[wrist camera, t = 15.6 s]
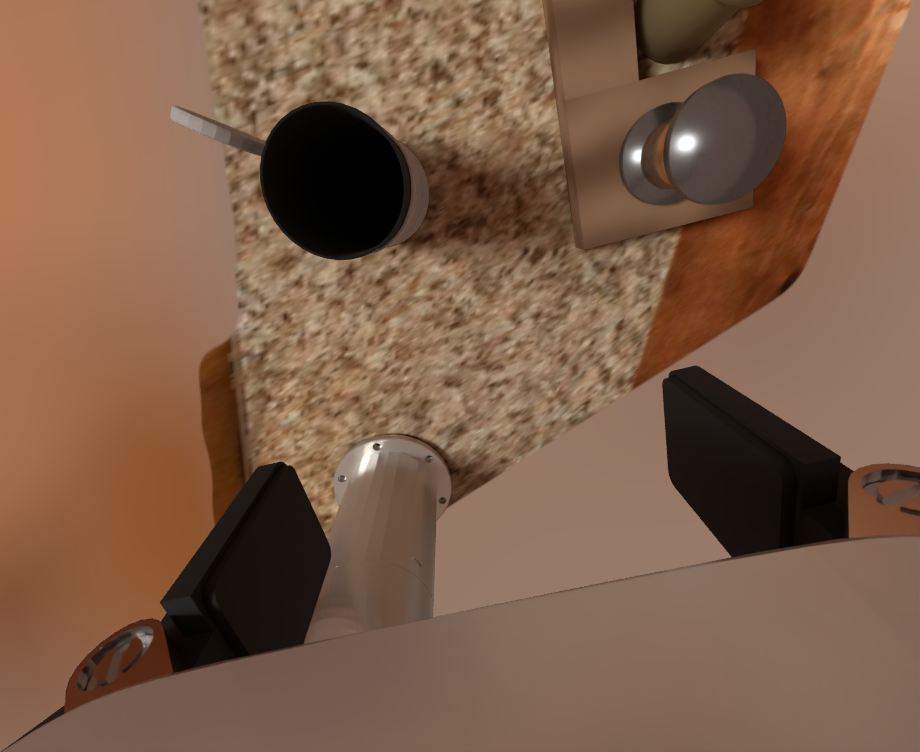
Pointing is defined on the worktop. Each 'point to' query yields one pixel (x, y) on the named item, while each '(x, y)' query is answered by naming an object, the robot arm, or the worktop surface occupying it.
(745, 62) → the notched board
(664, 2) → the cork
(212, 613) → the robot arm
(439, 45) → the worktop surface
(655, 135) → the bobbin
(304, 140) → the glass holder
